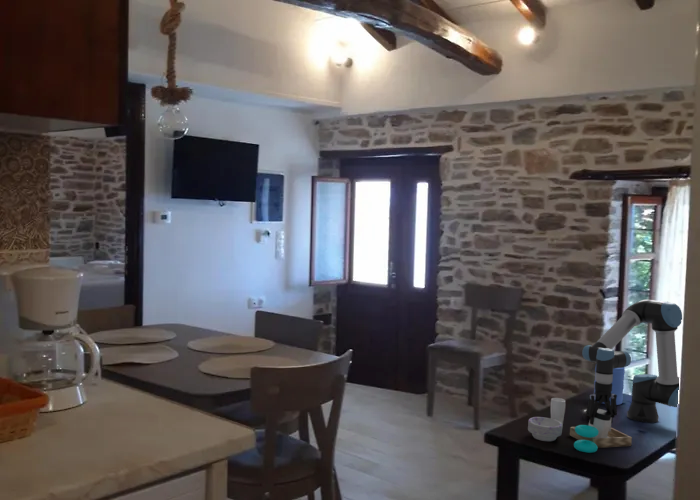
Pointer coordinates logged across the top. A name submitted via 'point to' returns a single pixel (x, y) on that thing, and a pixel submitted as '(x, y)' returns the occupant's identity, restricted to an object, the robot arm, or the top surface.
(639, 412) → the robot arm
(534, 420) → the light grey speckled bowl
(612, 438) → the crate
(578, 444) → the donuts
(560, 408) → the light grey cylinder
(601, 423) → the jar
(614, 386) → the water jug
